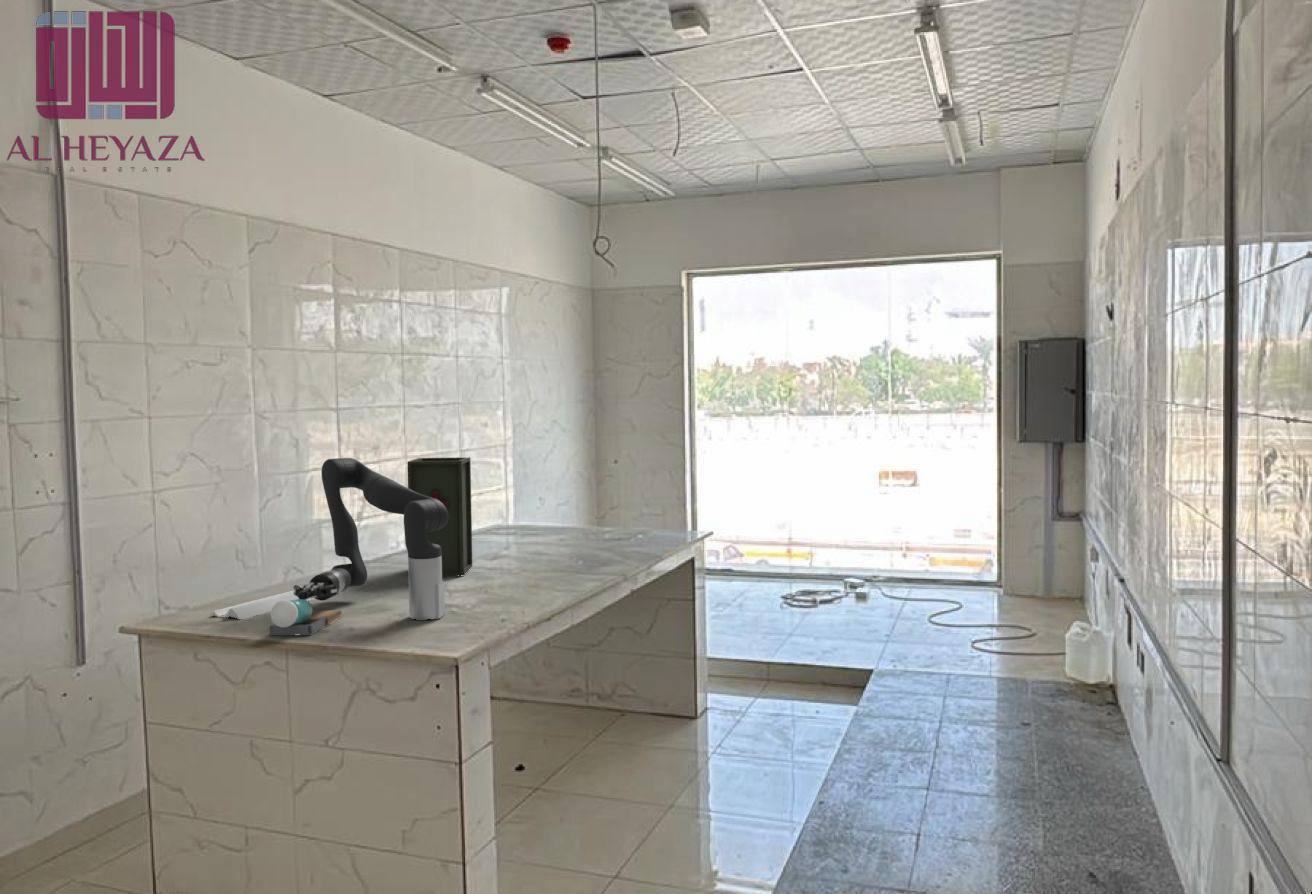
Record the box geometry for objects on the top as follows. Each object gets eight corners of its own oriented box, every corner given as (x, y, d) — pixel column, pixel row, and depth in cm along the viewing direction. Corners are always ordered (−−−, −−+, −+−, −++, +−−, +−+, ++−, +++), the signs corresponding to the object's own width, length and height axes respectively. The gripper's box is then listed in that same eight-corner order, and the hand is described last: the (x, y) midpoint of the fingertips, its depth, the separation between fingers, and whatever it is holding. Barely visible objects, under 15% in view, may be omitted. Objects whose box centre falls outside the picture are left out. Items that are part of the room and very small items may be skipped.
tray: (325, 626, 258) (325, 616, 258) (311, 635, 248) (310, 625, 248) (286, 626, 259) (286, 616, 259) (269, 635, 249) (269, 625, 249)
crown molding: (293, 597, 299) (293, 585, 299) (322, 600, 295) (322, 588, 294) (211, 618, 271) (210, 605, 271) (241, 622, 266) (241, 609, 266)
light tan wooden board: (341, 617, 268) (341, 610, 268) (327, 626, 258) (327, 619, 258) (299, 617, 269) (299, 610, 269) (284, 626, 259) (284, 618, 259)
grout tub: (313, 597, 257) (296, 600, 246) (312, 623, 256) (296, 626, 245) (288, 598, 257) (270, 600, 246) (288, 623, 256) (270, 627, 245)
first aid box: (472, 566, 346) (470, 457, 344) (463, 576, 328) (461, 461, 325) (421, 567, 346) (419, 457, 343) (410, 577, 327) (407, 461, 325)
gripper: (305, 571, 274) (277, 582, 257) (349, 572, 273) (325, 582, 256) (305, 597, 274) (278, 609, 257) (350, 597, 274) (325, 610, 256)
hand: (301, 596), depth 257 cm, fingers closed
